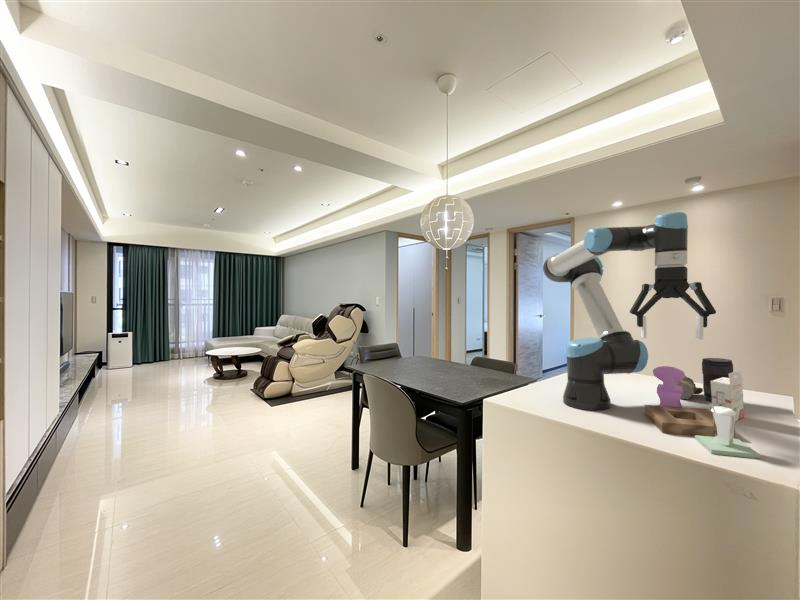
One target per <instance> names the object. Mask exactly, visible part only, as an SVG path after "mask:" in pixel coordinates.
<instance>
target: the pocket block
mask: <svg viewBox="0 0 800 600" xmlns="http://www.w3.org/2000/svg"><path fill="white" fill-rule="evenodd" d="M644 415H646V417H647V418H648V419H649V420H650V421H651V422H652V423H653V424H654V425H655V427H656V428H657V429H658V430H660V432H661V433H663V434H671V435H683V436H694V437H695V435H698V436H709V437H715V434H714V426H713V420H712V414H711V410H709V409H707V408H701V407H699V408H697V407H685V406H682V407H671V406H660V405H655V404H654V405H653V404H644ZM734 439H736V427H734Z"/></svg>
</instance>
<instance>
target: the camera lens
mask: <svg viewBox="0 0 800 600" xmlns="http://www.w3.org/2000/svg"><path fill="white" fill-rule="evenodd" d="M701 371H702V376H703V377H702V381H703V382H702V383H703V384H702V386H703V388H702V389H703V395H704V397H705V401H706V402H709V403H711V404H712V397H711V382H710V381H713V380H716V379H719V378H722V377H725V378H729V373H732V372H734V364H733V361H732V360H731V359H730V358H729V359H728V358H722V357H721V358H719V357H704V358H702V361H701Z"/></svg>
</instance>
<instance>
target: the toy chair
mask: <svg viewBox="0 0 800 600" xmlns="http://www.w3.org/2000/svg"><path fill="white" fill-rule="evenodd" d="M652 374H653V376H654V377H655V378H656V379H658V380H659V381H661V382H662V383H659V384H658V385H657V387H656V393H657V397H658V399H659V401H660V402H659V406H671V407H683V405H682V402H681V399H680V398H681V393H682V391H683V390H682V386H674V384H675V383H676V382H679V381H680V380H682V379H683V378H684V376H686V374H685V371H684V370H682V369H680V368H677V367H673V366H669V365H665V366H663V365H662V366H658V367H655V368H653V370H652Z"/></svg>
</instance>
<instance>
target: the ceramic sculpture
mask: <svg viewBox="0 0 800 600" xmlns="http://www.w3.org/2000/svg"><path fill="white" fill-rule="evenodd" d="M674 386H682V390H683V391H682V393H681V398H680V400H689V399H690V398H691V397H693V395H700V394H702V393H704V390H703V388H702V387H696V384H695V382H694V380H693V379H691V378H690V377H689V376H686V375H685V376H684V378H683V379H682V380H680V381H679V382H676V383H675V384H674Z"/></svg>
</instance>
